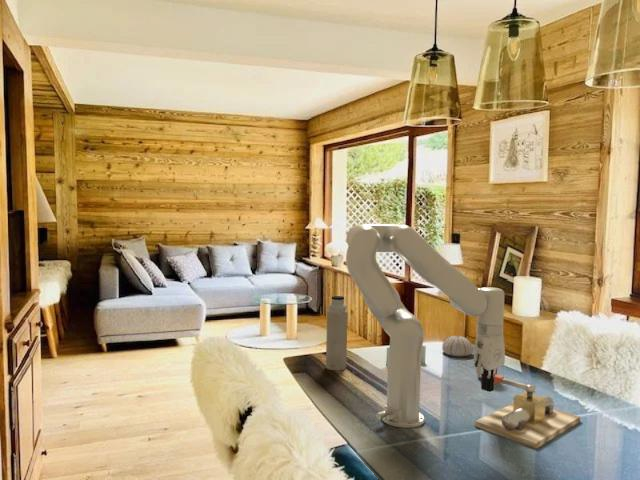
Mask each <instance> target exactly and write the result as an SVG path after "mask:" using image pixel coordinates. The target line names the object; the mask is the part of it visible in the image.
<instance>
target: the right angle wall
mask: <svg viewBox="0 0 640 480" xmlns="http://www.w3.org/2000/svg"><path fill="white" fill-rule="evenodd" d="M426 346H427V345H424V344H423V346H422V352H421V364H425V363H426V354H427V353H426V349H427V348H426ZM388 353H389V346H387V347H386V361H385V364H386V365H387V366H388Z"/></svg>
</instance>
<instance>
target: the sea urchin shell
mask: <svg viewBox="0 0 640 480" xmlns="http://www.w3.org/2000/svg"><path fill="white" fill-rule="evenodd" d="M442 351H443V352H444V353H445V355H449V356H451V357H456V358H457V357H467V356H470V355H472V354H473V352H474V345H473V344H472V342H471V341H470V340H469V339H468V338H467V337H464V336H461V335H451V336H449V337H448V338H446V339H445V340H444V342H443V343H442Z"/></svg>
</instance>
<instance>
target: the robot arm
mask: <svg viewBox="0 0 640 480" xmlns="http://www.w3.org/2000/svg"><path fill="white" fill-rule="evenodd" d="M345 240H346V243H347V249H346V255H345V258H346V259H345V262H346V268H347V272H348V273H349V276H350V277H351V279H352V280H353V282H354V283H355V285H356V286H357V288H358V290H359V291H360V293H361V294H362V296H363V297H362V298H363V301H364V304H365V305H366V307H367V308H368V309H369V311H370V313H372V315H373V317H374V318H375V319H376V321H377V323H378V324H379V325H380V326H381V328H382V329H383V330H384V332H385V333H386V334H387V335H388V336H389V345H388V347H389V353H388V365H387V381H386V382H387V383H386V385H387V387H386V404H385V405H384V409H383V410H382V411H379V412H376V414H375V418H376V419H377V420H378V421H379V420H382V422H384V423H386V424H387V425H389V426H392V427H396V428H403V429H405V428H406V429H411V428H417V427H420V426H422V425H423V424H424V423H425V416H424V414H422V412H420V402H421V401H420V397H421V395H420V394H421V372H422V371H421V369H422V368H421V364H422V363H421V352H422V346H423V345H424V339H425V329H424V326H423V324H422V322H421V321H420V319H419V318H418V317H417V316H416V315H414V314H413V313H411V312H410V311H409V310H408V309H407V307H405V305H404V304H403V302H402V301H401V297H400V293H399V292H398V290H397V289H396V287H395V286H394V285H393V284H392V282H391V281H390V280H389V279H388V277H387V276H386V274H385V273H384V272H383V270H382V268H381V267H380V265H379V264H378V262H377V253H395V254H397V255H398V256H399V257H400V258H401V259H402V260H403V261H404V262H405V263H406V264H407V265H408V266H409V268H411V269H412V270H414V271H415V273H417V274H418V275H419V277H421V278H422V279H423V280H425V281H426V282H427V283H428V284H430V285H432V286H434V287H435V288H437V289H438V290H439V291H441V292H442V293H443V294H445V295H446V297H448V302H449V303H450V305H451V306H452V307H453V308H454V309H455V310H457V311H459V312H461V313H464V315H467V316H469V317H476V330H475V332H476V338H475V344H474V348H473V352H474V353H473V364H474V365H473V366H474V367H475V368H476V371H475V372H476V374H477V373H479V374H481V377H482V379H481V378H480V382H481V383H480V385H481V386H480V389H481V390H482V391H486V392H488V393H490V392H494V389H495V387H494V386H495V382H494V378H493V377H495V373H496V369H497V370H498V369H499V368H502V367H503V366H505V363H506V357H505V356H506V352H505V351H506V350H505V349H506V348H505V347H506V346H505V338H504V320H505V319H504V318H505V317H504V315H505V291H504V290H503V289H502V288H498V287H493V286H490V287H489V286H485V287H477V286H476V285H475V284H474V283H473V282H472V281H471V280H470V279H469V278H468V277H466V275H464V274H463V273H462V272H461V271H460V270H459V269H457V268H456V267H455V266H453V264H452V263H451V262H449V261H448V260H447V259H446V258H444V256H442V255H441V253H439V252H438V251H437V250H436V249H435V248H434V247H433V246H432V245H431V244H429V242H428V241H427V240H426V239H425V238H423V236H422V235H421V234H419V233H418V232H417V230H415V229H414V228H413V227H411V226H409V225H406V224H356V225H354V226H352V227H350V228H349V230H348V231H347V233H346V239H345Z"/></svg>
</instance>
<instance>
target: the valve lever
mask: <svg viewBox="0 0 640 480" xmlns="http://www.w3.org/2000/svg"><path fill="white" fill-rule="evenodd" d="M493 378H494V384H499V385H501V384H503V385H507V386H511V387H514V388H518V389H521V390H524V392H526V393H527V392H530V393H533V394H534V393H536V385H535V384H532V383H523V382H519V381H516V380H513V379H509V378H507V377H506V378H505V376H504V375H500V374H497V375H496V374H495V377H493Z"/></svg>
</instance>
